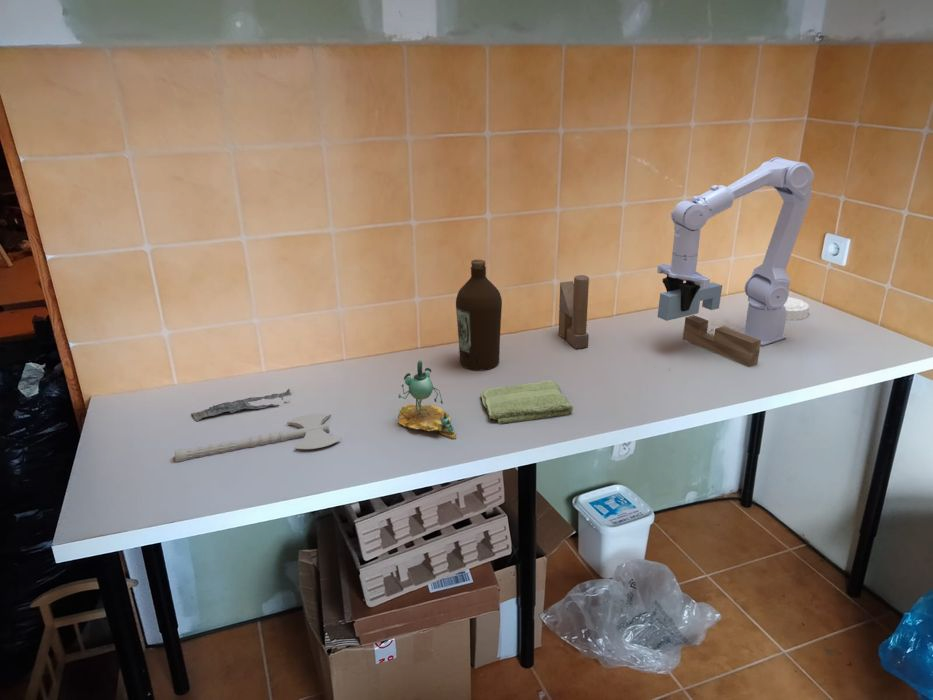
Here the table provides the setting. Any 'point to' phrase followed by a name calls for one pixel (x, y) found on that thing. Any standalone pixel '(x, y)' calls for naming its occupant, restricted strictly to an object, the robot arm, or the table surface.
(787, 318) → the mooncake
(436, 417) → the frog figurine
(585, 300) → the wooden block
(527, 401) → the washcloth
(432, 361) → the table surface
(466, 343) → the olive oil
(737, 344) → the walnut beam
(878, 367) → the table surface
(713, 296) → the slate crossbar
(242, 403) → the driftwood
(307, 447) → the axe
